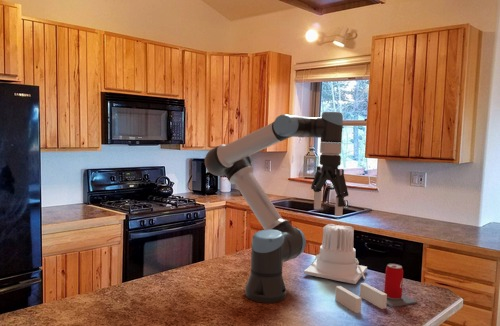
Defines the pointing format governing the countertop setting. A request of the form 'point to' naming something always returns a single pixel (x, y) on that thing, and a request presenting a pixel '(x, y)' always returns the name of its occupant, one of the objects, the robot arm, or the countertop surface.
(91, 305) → the countertop surface
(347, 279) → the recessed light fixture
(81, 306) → the countertop surface
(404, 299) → the mat
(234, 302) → the countertop surface
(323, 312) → the countertop surface
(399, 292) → the beverage can
